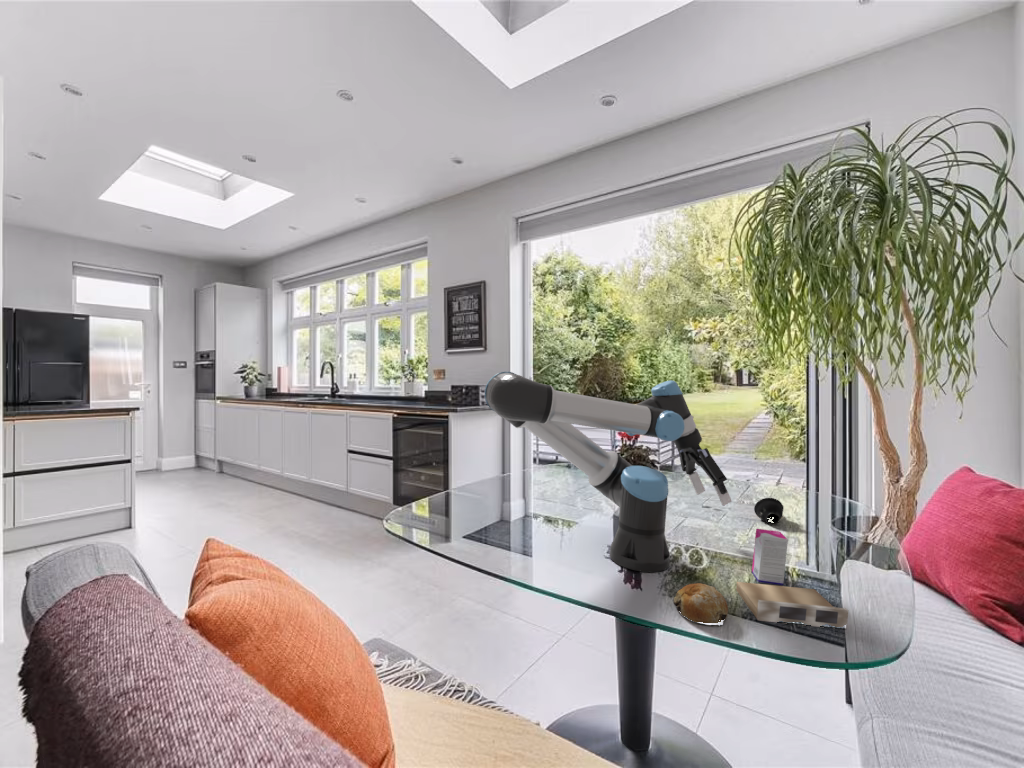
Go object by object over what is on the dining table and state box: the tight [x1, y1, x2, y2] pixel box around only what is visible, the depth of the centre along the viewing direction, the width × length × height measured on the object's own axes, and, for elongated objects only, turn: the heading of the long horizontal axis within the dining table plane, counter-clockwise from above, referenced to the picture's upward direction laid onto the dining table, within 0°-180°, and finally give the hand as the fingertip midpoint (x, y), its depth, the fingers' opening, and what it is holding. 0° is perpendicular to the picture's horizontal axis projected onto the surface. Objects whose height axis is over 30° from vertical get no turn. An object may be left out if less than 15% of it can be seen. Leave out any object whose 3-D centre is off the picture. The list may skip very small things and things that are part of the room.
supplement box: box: [751, 528, 789, 586], centre depth 118 cm, size 6×6×12 cm
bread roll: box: [673, 582, 729, 623], centre depth 100 cm, size 10×10×8 cm
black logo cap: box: [753, 497, 784, 525], centre depth 165 cm, size 9×11×18 cm
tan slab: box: [735, 581, 849, 628], centre depth 104 cm, size 17×13×4 cm
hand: (713, 497), depth 140 cm, fingers open, 13 cm apart
